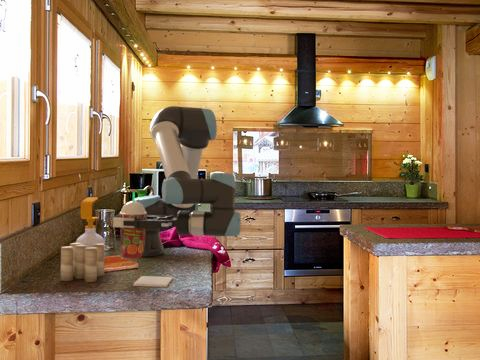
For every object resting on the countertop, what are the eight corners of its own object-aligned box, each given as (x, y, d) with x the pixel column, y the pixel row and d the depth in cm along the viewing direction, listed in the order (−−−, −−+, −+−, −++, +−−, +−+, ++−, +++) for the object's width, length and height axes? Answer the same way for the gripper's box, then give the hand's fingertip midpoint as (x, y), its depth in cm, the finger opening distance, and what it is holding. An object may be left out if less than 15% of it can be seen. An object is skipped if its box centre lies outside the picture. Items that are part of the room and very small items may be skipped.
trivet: (141, 277, 150) (141, 276, 150) (172, 279, 150) (172, 277, 150) (133, 285, 140) (133, 283, 140) (166, 287, 140) (166, 285, 140)
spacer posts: (72, 273, 154) (72, 242, 154) (105, 274, 154) (106, 243, 154) (58, 280, 144) (59, 248, 143) (94, 282, 143) (94, 249, 143)
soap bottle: (108, 268, 163) (110, 197, 162) (93, 273, 154) (95, 198, 154) (86, 265, 165) (87, 196, 165) (70, 271, 157) (71, 197, 156)
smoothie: (118, 259, 141) (120, 192, 141) (118, 254, 149) (119, 191, 149) (147, 258, 143) (148, 193, 143) (145, 253, 151) (146, 191, 151)
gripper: (184, 240, 135) (106, 237, 136) (195, 230, 156) (127, 228, 157) (185, 214, 134) (107, 211, 136) (196, 208, 155) (128, 206, 157)
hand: (118, 220), depth 146 cm, fingers closed on smoothie, 8 cm apart
